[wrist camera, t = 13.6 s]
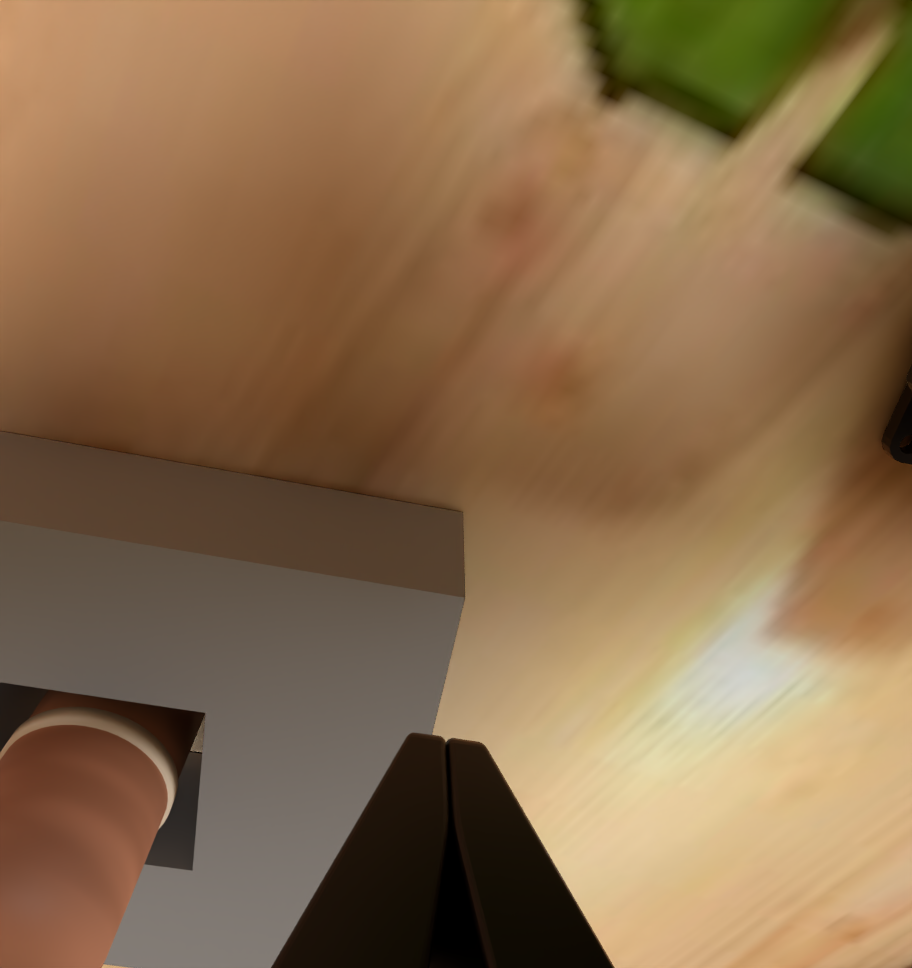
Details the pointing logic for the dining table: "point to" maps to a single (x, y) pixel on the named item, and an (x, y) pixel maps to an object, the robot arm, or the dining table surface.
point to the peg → (81, 821)
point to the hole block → (228, 664)
